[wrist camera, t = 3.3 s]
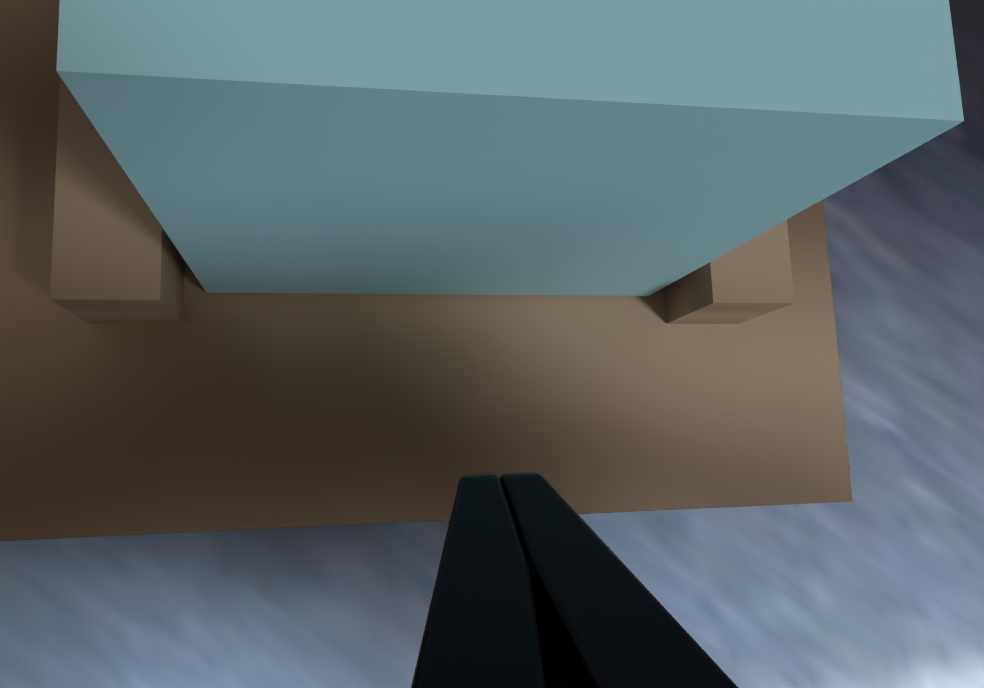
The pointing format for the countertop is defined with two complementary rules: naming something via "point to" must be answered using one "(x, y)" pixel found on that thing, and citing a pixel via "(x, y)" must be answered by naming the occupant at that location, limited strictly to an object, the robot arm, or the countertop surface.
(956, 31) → the countertop surface
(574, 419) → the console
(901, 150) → the paddle button
